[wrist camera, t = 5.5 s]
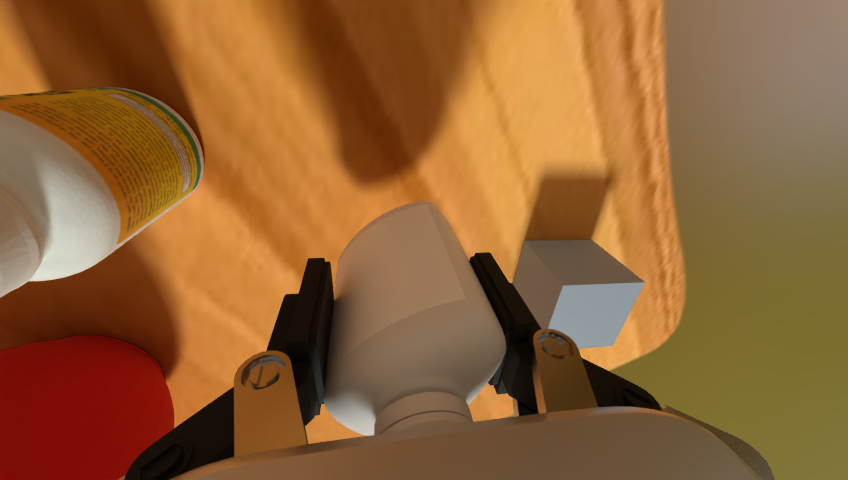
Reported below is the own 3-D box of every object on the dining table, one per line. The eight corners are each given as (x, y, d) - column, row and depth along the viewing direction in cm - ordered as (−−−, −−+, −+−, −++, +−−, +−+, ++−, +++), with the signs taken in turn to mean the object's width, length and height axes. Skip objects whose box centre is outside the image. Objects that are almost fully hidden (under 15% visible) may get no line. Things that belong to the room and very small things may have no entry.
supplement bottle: (163, 219, 17) (-39, 375, 8) (47, 137, 14) (-410, 244, 6) (233, 157, 16) (81, 262, 7) (121, 56, 13) (-301, 46, 5)
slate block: (523, 239, 21) (563, 285, 17) (590, 238, 22) (645, 282, 17) (508, 298, 23) (539, 351, 19) (569, 295, 24) (612, 346, 20)
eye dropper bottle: (325, 210, 14) (216, 652, 4) (449, 194, 14) (655, 535, 4) (345, 287, 16) (312, 689, 6) (451, 270, 17) (588, 610, 6)
